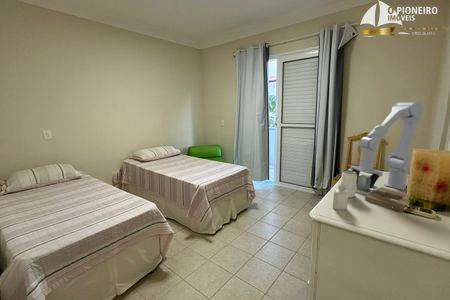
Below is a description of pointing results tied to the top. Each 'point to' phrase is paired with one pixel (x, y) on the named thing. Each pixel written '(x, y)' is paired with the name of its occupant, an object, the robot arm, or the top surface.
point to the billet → (363, 183)
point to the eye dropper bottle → (340, 198)
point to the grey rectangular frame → (368, 192)
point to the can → (349, 182)
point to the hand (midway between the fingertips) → (363, 185)
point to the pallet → (381, 200)
